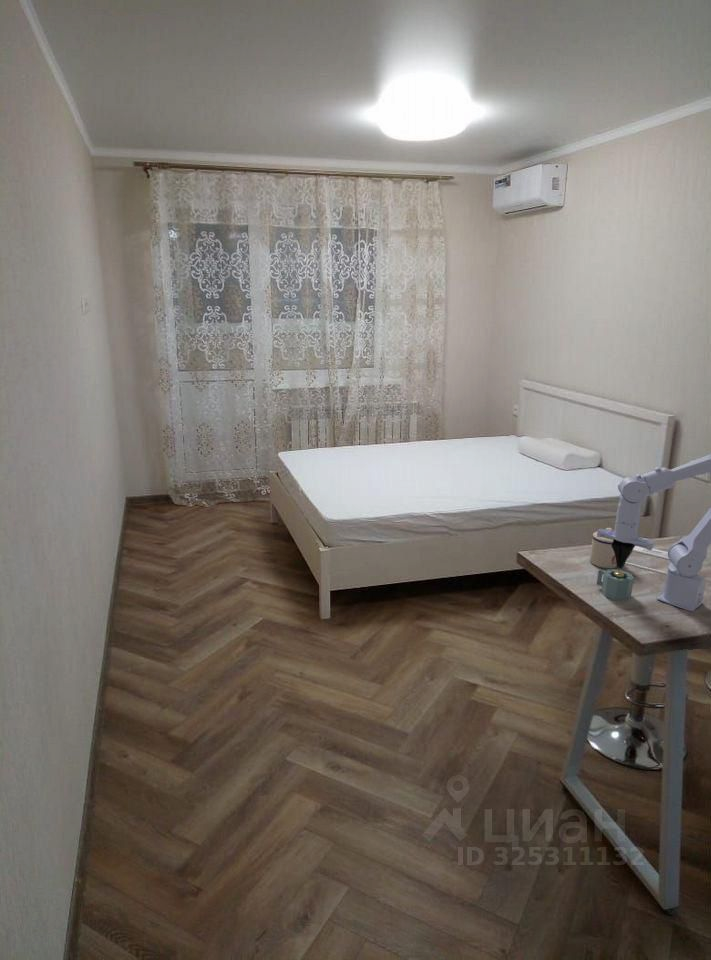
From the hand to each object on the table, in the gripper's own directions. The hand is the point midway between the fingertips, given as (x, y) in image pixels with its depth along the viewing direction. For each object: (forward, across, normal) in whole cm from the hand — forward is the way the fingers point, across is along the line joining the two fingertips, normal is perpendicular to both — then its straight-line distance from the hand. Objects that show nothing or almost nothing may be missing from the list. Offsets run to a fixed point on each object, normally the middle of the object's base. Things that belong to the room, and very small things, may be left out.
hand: (620, 566), depth 178 cm
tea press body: (+9, +1, 0) cm, 9 cm away
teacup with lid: (+9, +11, -21) cm, 25 cm away
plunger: (+7, 0, 0) cm, 7 cm away
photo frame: (+9, +1, -33) cm, 34 cm away
